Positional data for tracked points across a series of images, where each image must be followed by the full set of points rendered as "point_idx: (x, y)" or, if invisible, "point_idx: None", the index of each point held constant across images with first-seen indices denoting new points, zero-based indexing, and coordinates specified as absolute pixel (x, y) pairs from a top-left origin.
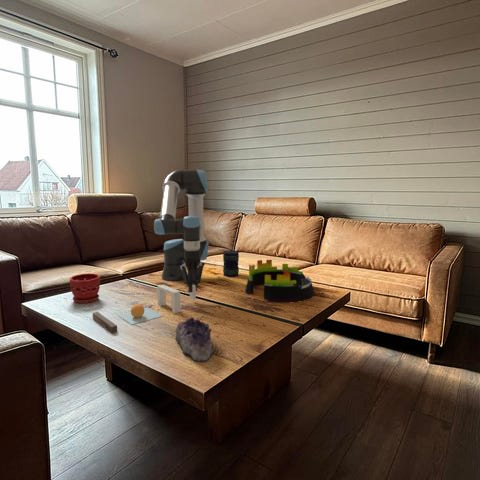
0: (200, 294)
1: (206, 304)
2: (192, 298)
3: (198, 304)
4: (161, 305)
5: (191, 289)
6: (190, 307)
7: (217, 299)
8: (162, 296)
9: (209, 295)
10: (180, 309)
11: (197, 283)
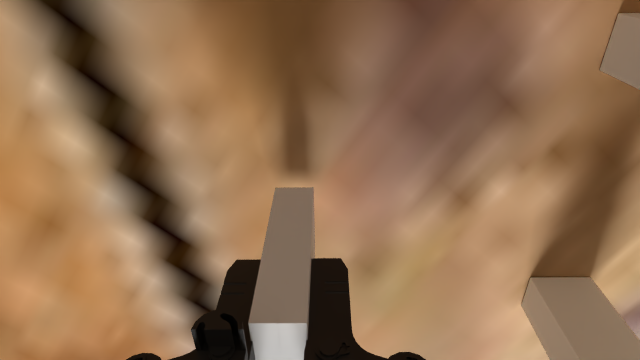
0: (123, 311)
1: (211, 29)
2: (313, 204)
3: (292, 94)
4: (579, 279)
5: (326, 289)
6: (427, 67)
7: (7, 96)
8: (615, 352)
9: (51, 248)
10: (637, 19)
11: (185, 357)
